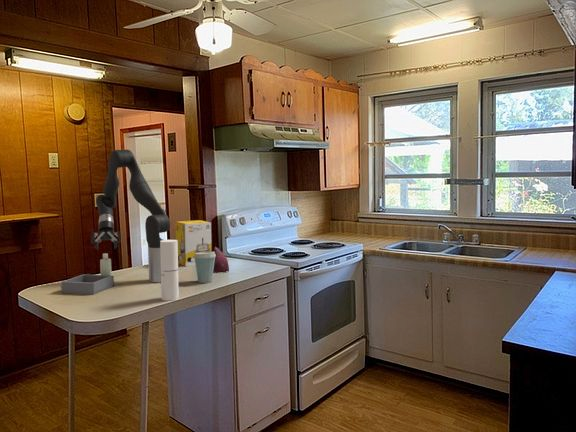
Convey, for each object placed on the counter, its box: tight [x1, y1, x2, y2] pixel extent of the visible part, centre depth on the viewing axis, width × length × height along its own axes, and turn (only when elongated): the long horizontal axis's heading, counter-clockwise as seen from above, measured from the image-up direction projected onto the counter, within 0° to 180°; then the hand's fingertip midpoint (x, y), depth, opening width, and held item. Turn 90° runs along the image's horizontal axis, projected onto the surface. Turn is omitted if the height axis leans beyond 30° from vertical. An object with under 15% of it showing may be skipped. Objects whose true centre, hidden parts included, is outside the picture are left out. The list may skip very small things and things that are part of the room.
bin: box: [60, 273, 115, 295], centre depth 208 cm, size 16×16×5 cm
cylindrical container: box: [160, 239, 180, 302], centre depth 192 cm, size 7×7×25 cm
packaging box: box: [174, 219, 212, 268], centre depth 271 cm, size 16×16×25 cm
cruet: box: [99, 252, 112, 276], centre depth 224 cm, size 5×5×14 cm
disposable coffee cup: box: [194, 251, 216, 284], centre depth 223 cm, size 11×11×15 cm
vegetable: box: [213, 246, 230, 274], centre depth 249 cm, size 10×10×15 cm
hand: (106, 248), depth 232 cm, fingers open, 8 cm apart
